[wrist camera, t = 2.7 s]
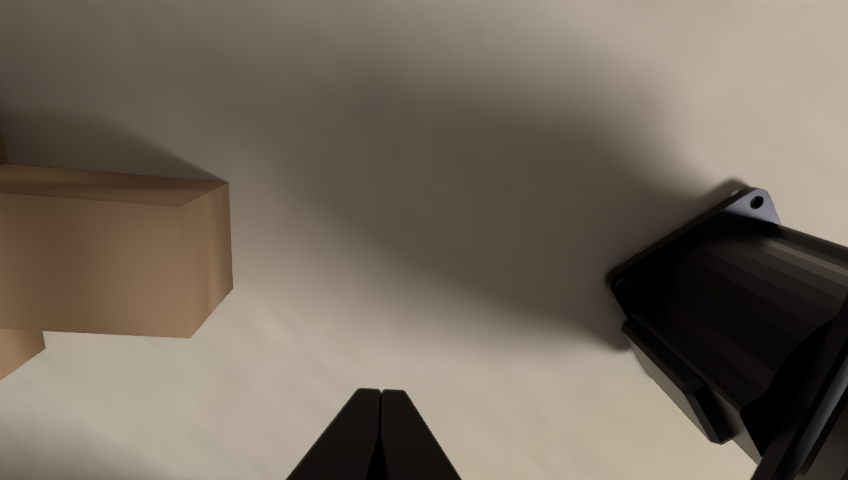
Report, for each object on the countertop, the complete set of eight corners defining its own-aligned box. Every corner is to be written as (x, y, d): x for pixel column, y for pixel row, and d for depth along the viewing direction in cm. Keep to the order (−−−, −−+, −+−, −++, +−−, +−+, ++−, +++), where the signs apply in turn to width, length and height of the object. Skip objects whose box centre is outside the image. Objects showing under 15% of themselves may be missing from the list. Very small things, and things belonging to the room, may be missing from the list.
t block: (224, 90, 14) (169, 88, 10) (236, 357, 17) (196, 420, 13) (-158, 50, 13) (-355, 33, 9) (-71, 342, 16) (-194, 407, 12)
